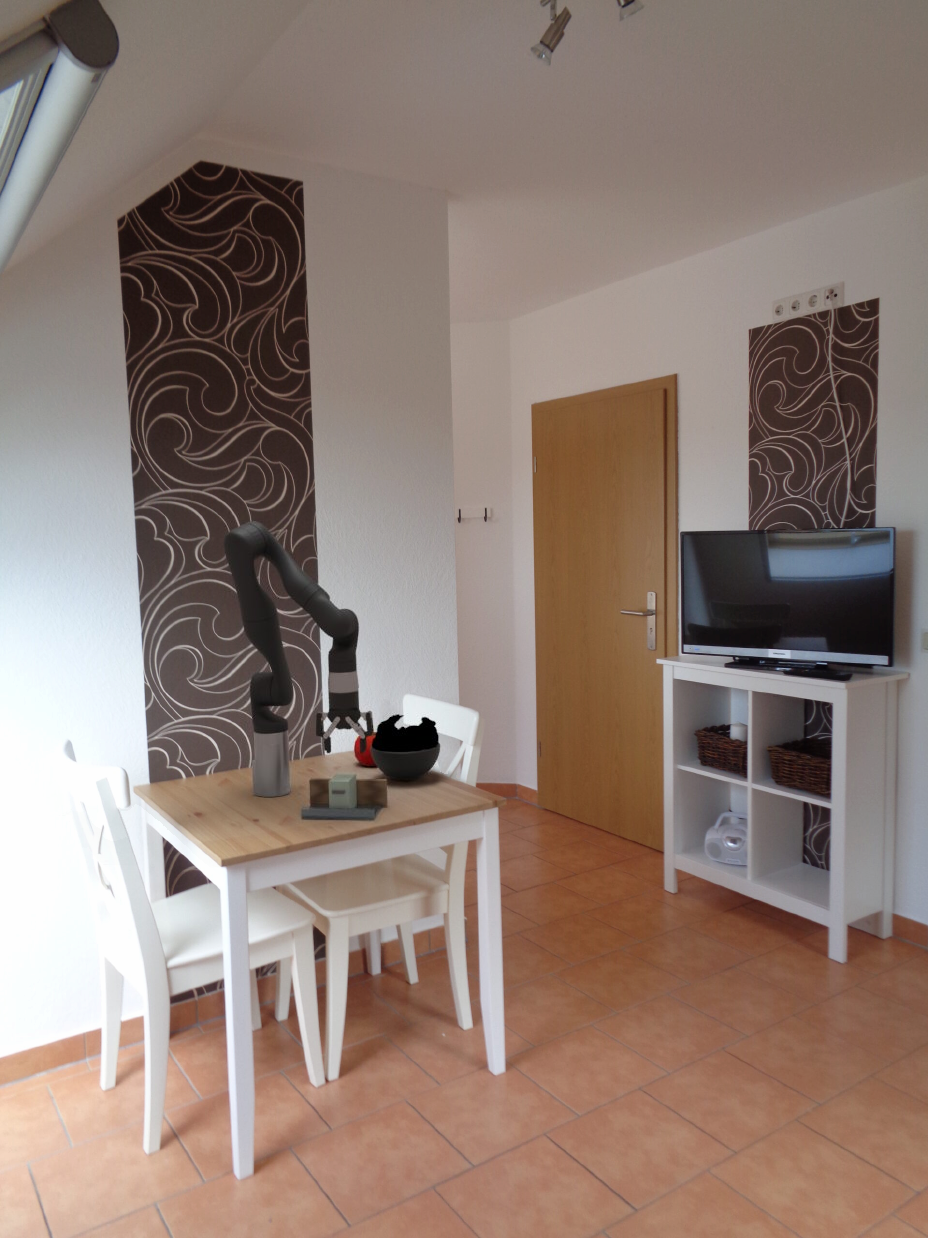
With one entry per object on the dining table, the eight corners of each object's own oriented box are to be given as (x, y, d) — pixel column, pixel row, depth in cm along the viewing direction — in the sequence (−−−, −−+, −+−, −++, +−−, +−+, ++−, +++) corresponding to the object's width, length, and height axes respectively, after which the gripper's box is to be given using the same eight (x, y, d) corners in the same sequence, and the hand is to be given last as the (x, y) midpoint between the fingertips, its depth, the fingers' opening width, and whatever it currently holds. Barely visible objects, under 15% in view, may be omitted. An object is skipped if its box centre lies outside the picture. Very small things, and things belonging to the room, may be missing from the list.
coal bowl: (358, 778, 262) (356, 714, 260) (416, 768, 273) (414, 706, 272) (395, 792, 246) (393, 724, 244) (454, 780, 257) (453, 715, 256)
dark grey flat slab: (301, 819, 223) (301, 809, 222) (313, 806, 234) (313, 797, 233) (373, 820, 221) (373, 810, 220) (382, 807, 231) (382, 798, 231)
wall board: (310, 806, 234) (309, 779, 233) (311, 805, 235) (310, 778, 235) (386, 807, 231) (385, 780, 231) (387, 806, 233) (386, 779, 232)
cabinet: (328, 814, 224) (327, 782, 223) (337, 804, 232) (336, 773, 232) (348, 814, 223) (347, 782, 223) (356, 804, 232) (356, 773, 231)
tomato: (358, 760, 285) (357, 727, 285) (394, 760, 284) (393, 727, 283) (350, 769, 274) (349, 735, 273) (387, 769, 272) (386, 735, 272)
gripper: (311, 691, 223) (314, 756, 225) (368, 691, 222) (370, 756, 224) (319, 686, 231) (321, 749, 232) (374, 686, 230) (376, 749, 231)
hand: (345, 752), depth 228 cm, fingers open, 8 cm apart
